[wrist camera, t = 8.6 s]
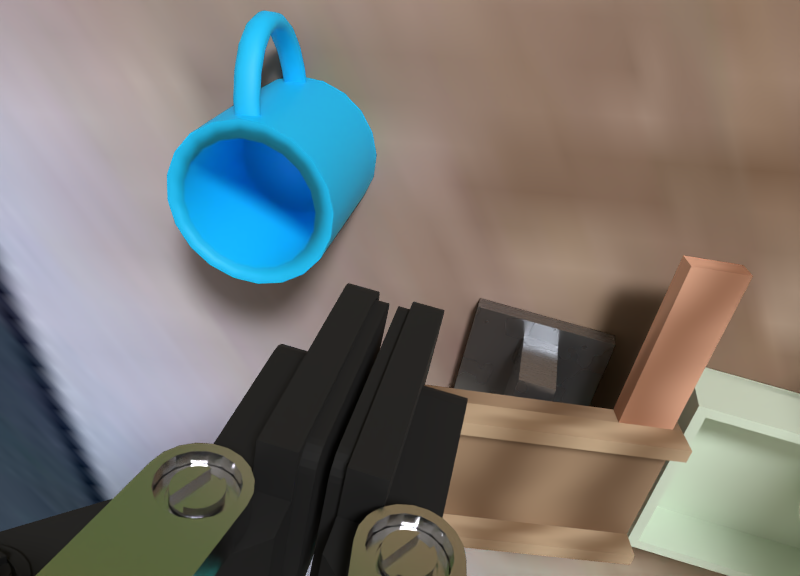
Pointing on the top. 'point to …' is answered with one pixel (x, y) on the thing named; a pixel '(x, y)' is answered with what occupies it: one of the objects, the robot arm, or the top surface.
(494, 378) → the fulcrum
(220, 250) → the mug
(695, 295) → the chute
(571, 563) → the top surface
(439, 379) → the top surface
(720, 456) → the tray
